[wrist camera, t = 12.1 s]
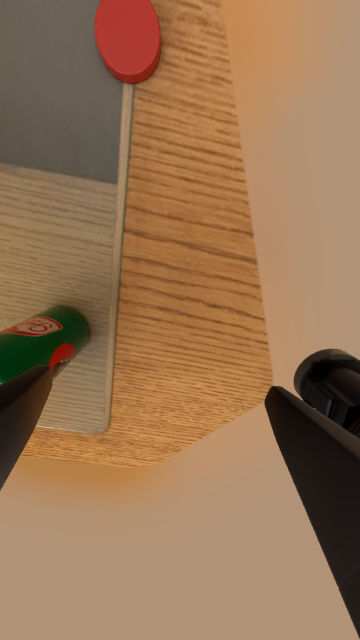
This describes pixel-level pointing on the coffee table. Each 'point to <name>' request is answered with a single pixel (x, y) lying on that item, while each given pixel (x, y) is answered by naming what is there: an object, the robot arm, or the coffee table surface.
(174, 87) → the coffee table surface
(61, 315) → the soda can
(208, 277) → the coffee table surface
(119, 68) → the spoon
